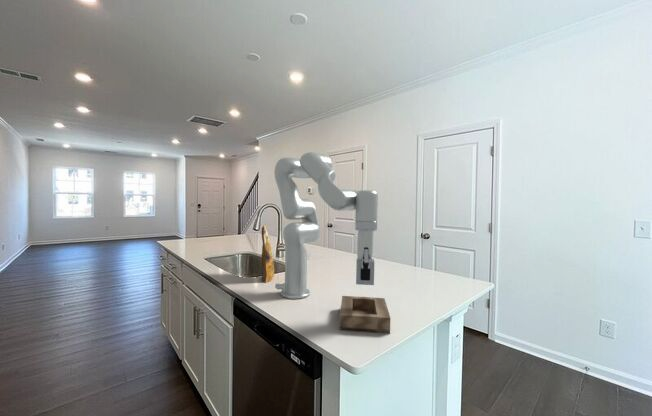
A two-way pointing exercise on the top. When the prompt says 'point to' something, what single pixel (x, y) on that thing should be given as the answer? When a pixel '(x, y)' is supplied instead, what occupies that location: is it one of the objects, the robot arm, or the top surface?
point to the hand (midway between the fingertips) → (364, 277)
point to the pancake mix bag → (266, 257)
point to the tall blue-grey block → (358, 273)
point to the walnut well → (364, 314)
